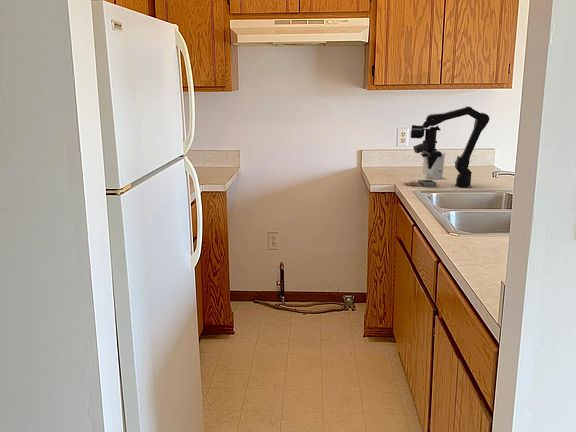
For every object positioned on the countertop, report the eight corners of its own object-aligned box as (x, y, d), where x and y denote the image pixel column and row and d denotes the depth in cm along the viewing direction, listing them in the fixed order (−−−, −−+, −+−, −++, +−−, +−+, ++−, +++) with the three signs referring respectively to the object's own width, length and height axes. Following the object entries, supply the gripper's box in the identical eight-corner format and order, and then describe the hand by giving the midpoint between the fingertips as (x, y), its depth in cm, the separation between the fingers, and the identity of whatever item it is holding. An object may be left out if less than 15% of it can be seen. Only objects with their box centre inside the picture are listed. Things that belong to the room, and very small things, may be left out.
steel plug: (429, 173, 301) (431, 156, 299) (432, 174, 297) (434, 157, 295) (422, 173, 300) (423, 156, 298) (425, 174, 297) (426, 157, 294)
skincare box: (426, 178, 319) (428, 152, 315) (428, 176, 324) (430, 151, 320) (441, 179, 315) (443, 153, 312) (443, 178, 321) (445, 152, 317)
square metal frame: (430, 183, 305) (430, 179, 304) (436, 186, 297) (436, 182, 296) (417, 183, 304) (418, 179, 303) (423, 186, 296) (423, 182, 295)
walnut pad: (416, 183, 303) (416, 182, 303) (421, 186, 296) (421, 184, 296) (404, 183, 302) (404, 182, 302) (408, 186, 295) (408, 185, 295)
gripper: (409, 136, 302) (407, 165, 306) (422, 141, 284) (420, 171, 288) (429, 136, 303) (426, 165, 307) (443, 140, 286) (440, 171, 290)
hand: (428, 168), depth 298 cm, fingers closed on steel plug, 4 cm apart
